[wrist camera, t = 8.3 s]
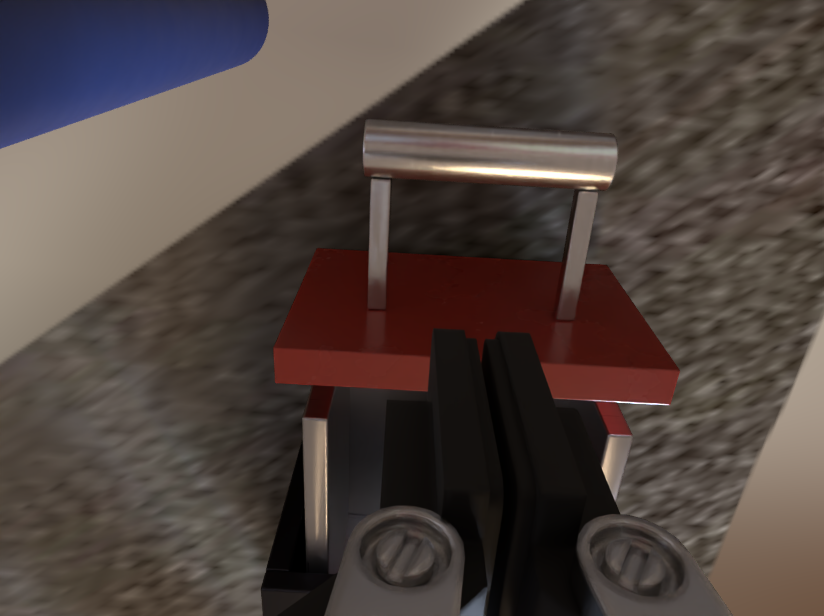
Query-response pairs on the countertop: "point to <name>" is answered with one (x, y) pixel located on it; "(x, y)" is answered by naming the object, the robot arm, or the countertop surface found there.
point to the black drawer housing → (289, 552)
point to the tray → (457, 315)
